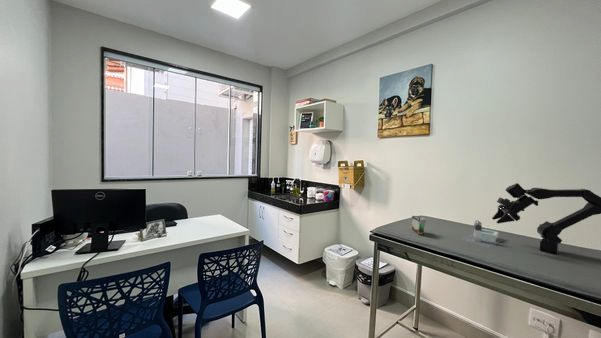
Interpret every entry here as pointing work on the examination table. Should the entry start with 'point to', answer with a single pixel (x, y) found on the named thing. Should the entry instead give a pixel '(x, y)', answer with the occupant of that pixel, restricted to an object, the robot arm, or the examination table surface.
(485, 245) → the instrument mat
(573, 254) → the examination table surface
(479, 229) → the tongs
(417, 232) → the food container
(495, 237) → the holder
